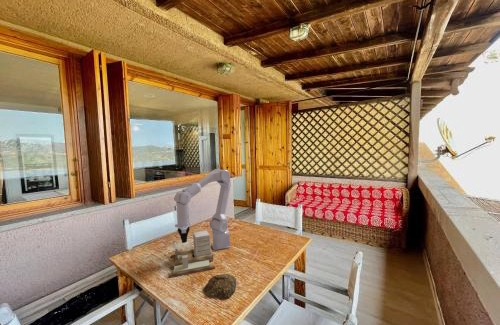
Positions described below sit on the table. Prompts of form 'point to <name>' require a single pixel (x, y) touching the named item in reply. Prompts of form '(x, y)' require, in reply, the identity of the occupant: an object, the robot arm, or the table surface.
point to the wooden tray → (190, 256)
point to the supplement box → (201, 243)
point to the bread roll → (220, 286)
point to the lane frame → (190, 270)
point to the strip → (190, 265)
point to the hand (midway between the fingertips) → (184, 242)
